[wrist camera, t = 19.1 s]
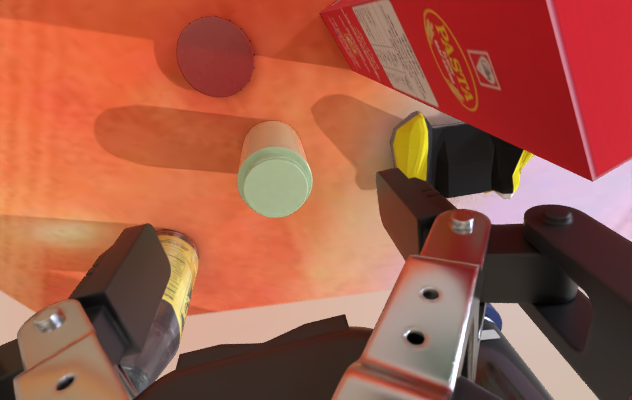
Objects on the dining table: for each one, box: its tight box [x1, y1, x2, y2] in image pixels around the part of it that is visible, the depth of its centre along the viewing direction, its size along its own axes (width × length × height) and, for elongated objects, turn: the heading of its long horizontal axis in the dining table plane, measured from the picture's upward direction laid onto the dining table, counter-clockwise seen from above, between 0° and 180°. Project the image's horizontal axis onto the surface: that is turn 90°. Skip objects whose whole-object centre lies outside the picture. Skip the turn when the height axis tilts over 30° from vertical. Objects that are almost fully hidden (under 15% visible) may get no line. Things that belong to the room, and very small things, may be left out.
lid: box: [177, 16, 255, 97], centre depth 28 cm, size 6×6×1 cm
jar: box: [237, 121, 313, 218], centre depth 29 cm, size 6×6×9 cm
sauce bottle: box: [120, 230, 199, 395], centre depth 27 cm, size 6×6×20 cm
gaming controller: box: [390, 111, 534, 199], centre depth 33 cm, size 15×6×10 cm
